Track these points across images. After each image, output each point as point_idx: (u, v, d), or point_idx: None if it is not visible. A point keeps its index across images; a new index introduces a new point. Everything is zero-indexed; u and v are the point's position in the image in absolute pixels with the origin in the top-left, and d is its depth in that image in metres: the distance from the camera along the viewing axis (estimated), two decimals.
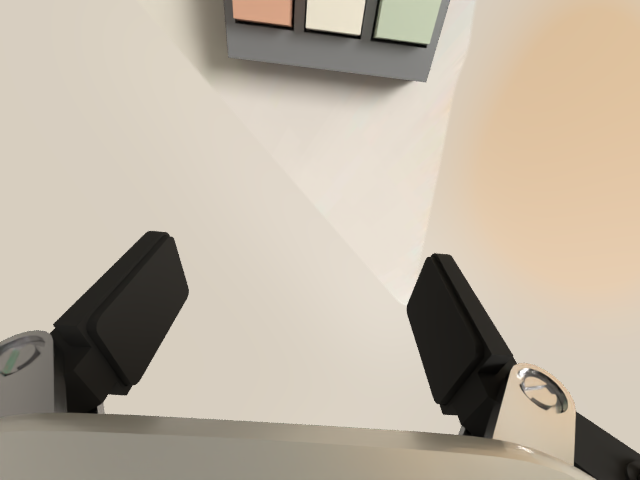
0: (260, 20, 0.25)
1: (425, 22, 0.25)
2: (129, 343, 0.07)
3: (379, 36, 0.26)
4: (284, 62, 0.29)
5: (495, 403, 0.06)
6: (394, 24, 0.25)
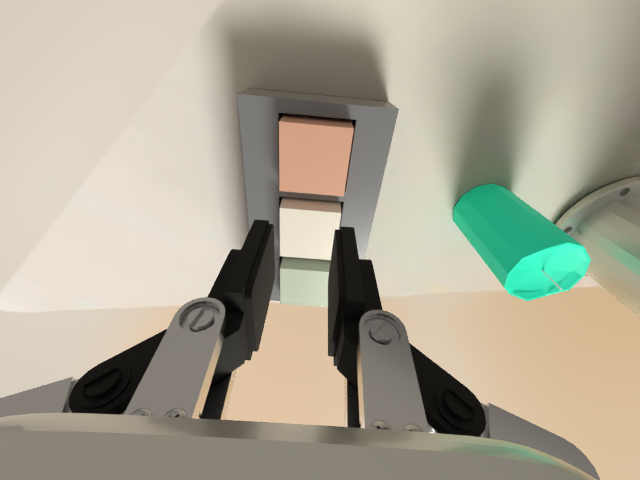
0: (280, 157, 0.20)
1: (294, 299, 0.29)
2: (258, 314, 0.08)
3: (280, 270, 0.27)
4: (246, 173, 0.23)
5: (357, 361, 0.06)
6: (290, 280, 0.28)
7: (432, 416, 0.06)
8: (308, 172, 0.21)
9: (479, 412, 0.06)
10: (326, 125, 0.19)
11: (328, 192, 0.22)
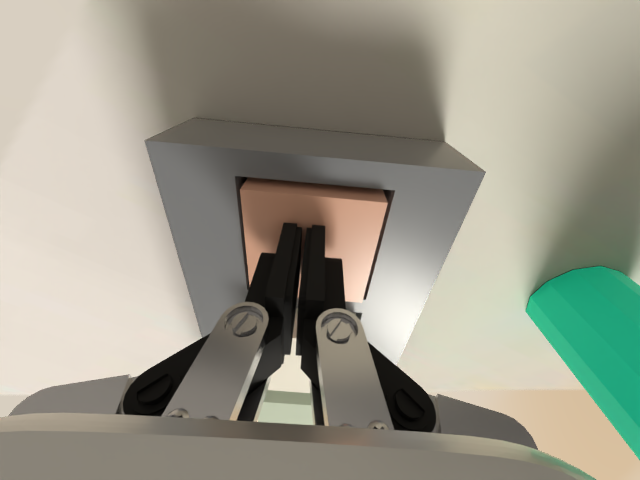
0: (247, 247, 0.11)
1: None
2: (292, 317, 0.08)
3: None
4: (186, 272, 0.13)
5: (318, 365, 0.06)
6: (273, 413, 0.18)
7: None
8: None
9: (429, 412, 0.06)
10: (333, 196, 0.10)
11: None
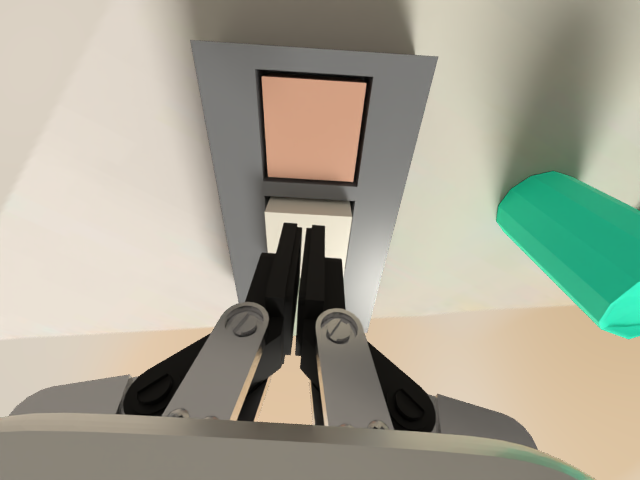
0: (266, 130, 0.15)
1: None
2: (292, 317, 0.08)
3: None
4: (216, 165, 0.16)
5: (317, 365, 0.06)
6: None
7: None
8: (305, 150, 0.16)
9: (430, 412, 0.06)
10: (328, 80, 0.14)
11: (332, 176, 0.16)
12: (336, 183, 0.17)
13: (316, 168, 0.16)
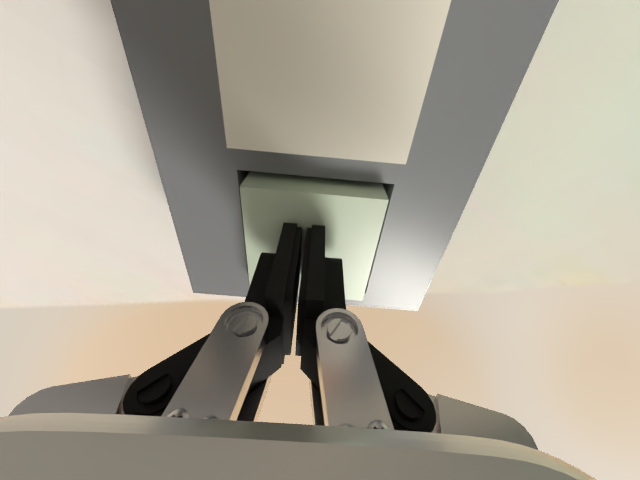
0: None
1: None
2: (292, 317, 0.08)
3: (243, 194, 0.10)
4: None
5: (318, 365, 0.06)
6: (271, 225, 0.10)
7: None
8: None
9: (429, 412, 0.06)
10: None
11: None
12: None
13: None
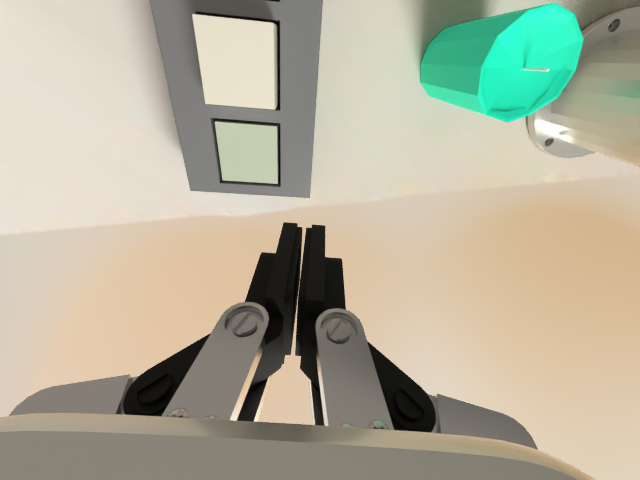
0: None
1: (238, 172, 0.26)
2: (292, 317, 0.08)
3: (216, 125, 0.23)
4: None
5: (317, 365, 0.06)
6: (229, 140, 0.24)
7: None
8: None
9: (429, 412, 0.06)
10: None
11: None
12: (261, 0, 0.19)
13: None
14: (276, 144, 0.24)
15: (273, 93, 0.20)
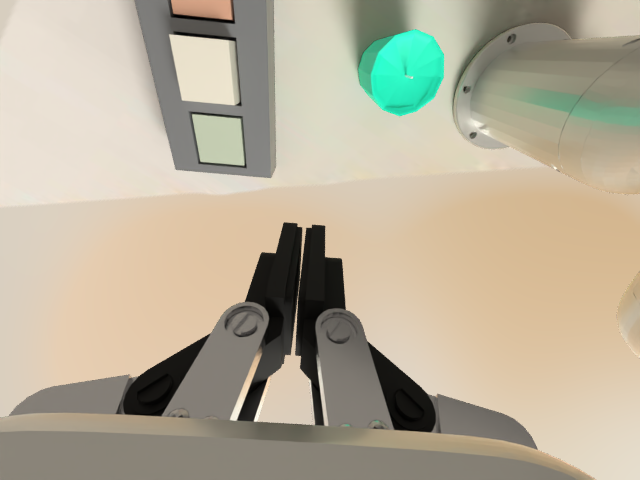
0: None
1: (212, 155, 0.32)
2: (292, 317, 0.08)
3: (193, 117, 0.30)
4: (136, 1, 0.24)
5: (317, 365, 0.06)
6: (204, 129, 0.30)
7: None
8: None
9: (429, 412, 0.06)
10: None
11: (216, 14, 0.24)
12: (221, 22, 0.25)
13: (205, 6, 0.24)
14: (241, 133, 0.31)
15: (232, 92, 0.27)
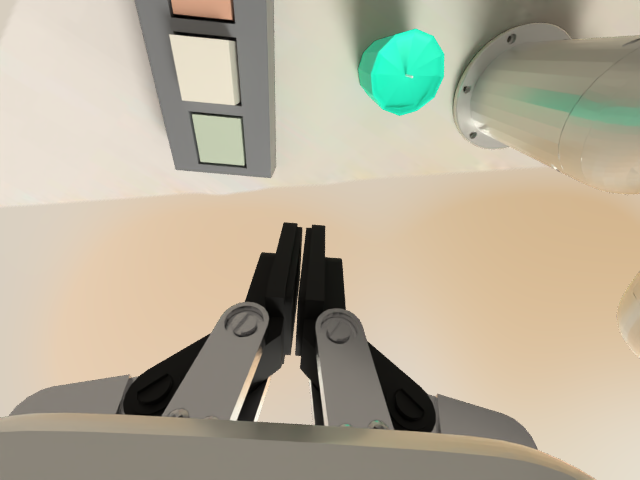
0: None
1: (212, 155, 0.32)
2: (292, 318, 0.08)
3: (193, 117, 0.30)
4: (136, 1, 0.24)
5: (317, 365, 0.06)
6: (204, 129, 0.30)
7: None
8: None
9: (429, 412, 0.06)
10: None
11: (216, 14, 0.24)
12: (221, 22, 0.25)
13: (205, 6, 0.24)
14: (241, 133, 0.31)
15: (232, 92, 0.27)
